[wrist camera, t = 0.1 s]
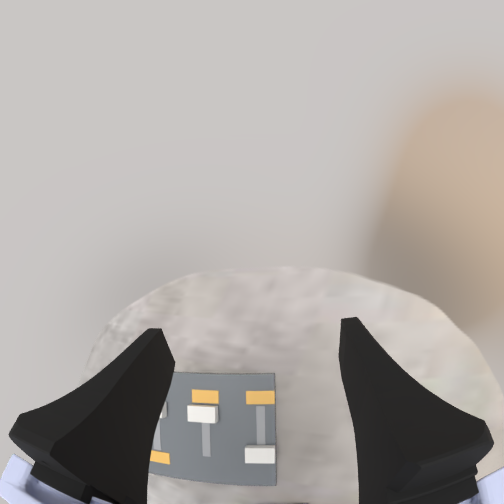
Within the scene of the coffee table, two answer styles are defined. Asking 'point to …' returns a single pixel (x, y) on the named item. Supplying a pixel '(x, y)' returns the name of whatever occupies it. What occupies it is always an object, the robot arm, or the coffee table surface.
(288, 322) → the coffee table surface
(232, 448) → the switch board
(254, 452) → the switch
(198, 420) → the switch
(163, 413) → the switch
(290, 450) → the coffee table surface
